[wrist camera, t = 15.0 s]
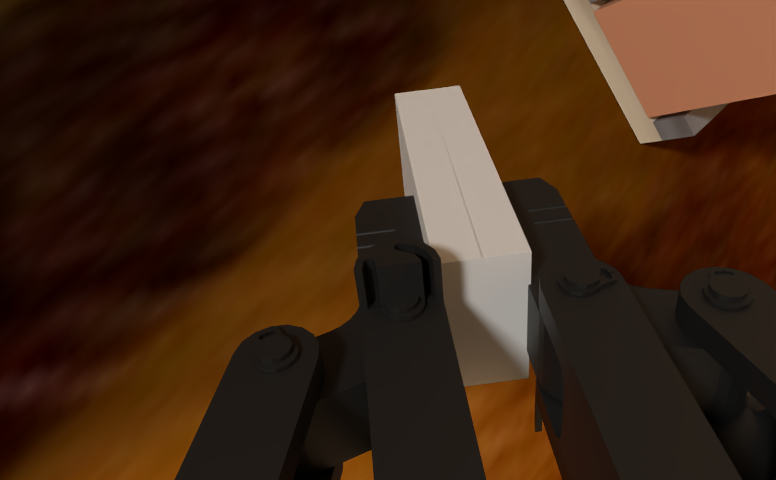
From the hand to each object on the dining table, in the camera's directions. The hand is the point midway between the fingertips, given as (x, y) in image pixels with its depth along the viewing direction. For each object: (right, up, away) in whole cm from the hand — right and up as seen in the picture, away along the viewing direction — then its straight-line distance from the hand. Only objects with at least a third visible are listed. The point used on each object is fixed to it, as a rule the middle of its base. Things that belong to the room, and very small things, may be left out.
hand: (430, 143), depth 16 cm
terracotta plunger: (+13, +8, +19) cm, 24 cm away
